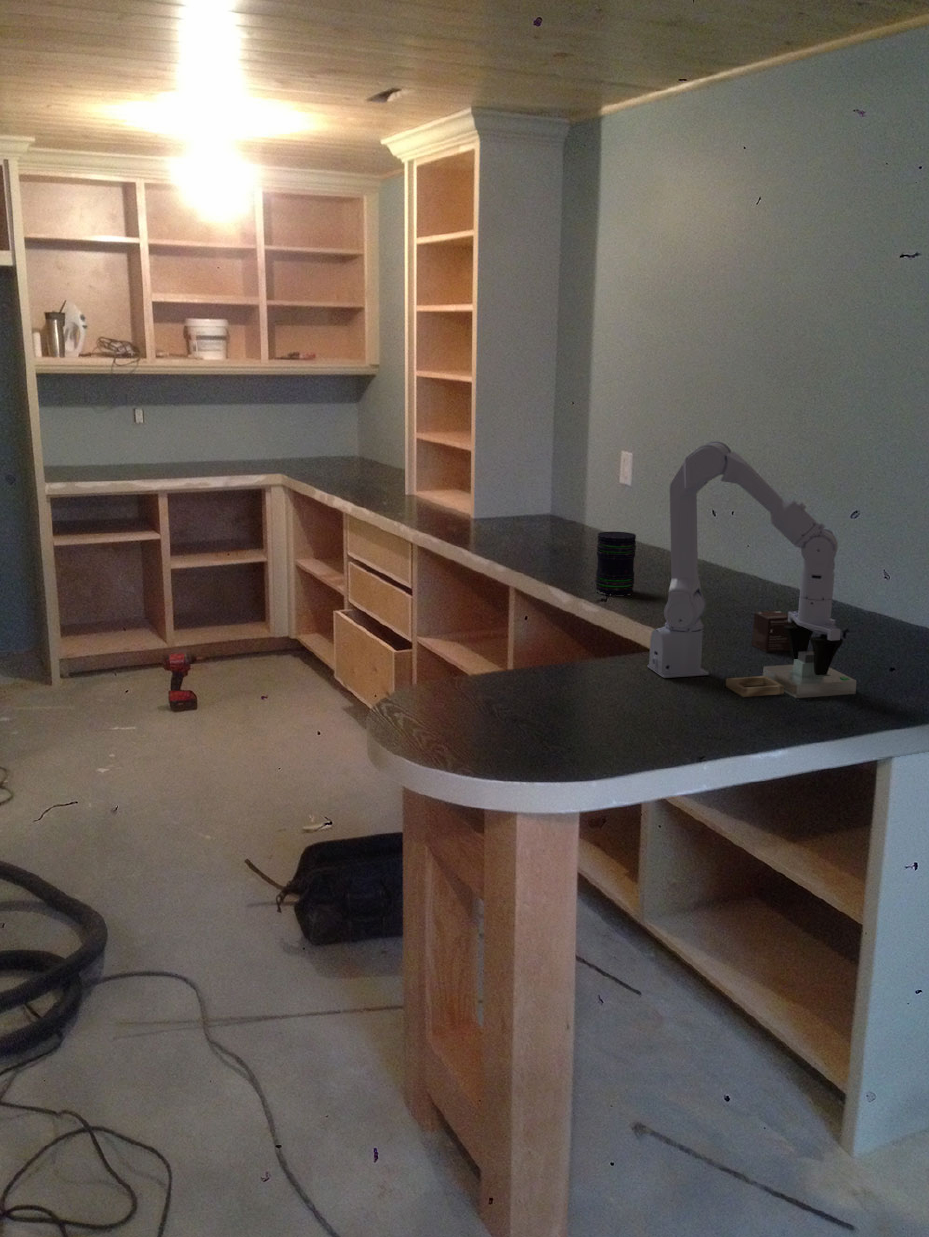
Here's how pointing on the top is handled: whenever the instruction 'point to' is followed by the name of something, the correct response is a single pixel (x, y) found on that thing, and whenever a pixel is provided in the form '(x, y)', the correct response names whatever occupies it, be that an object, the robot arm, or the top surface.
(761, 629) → the box
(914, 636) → the top surface
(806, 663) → the plug
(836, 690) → the port
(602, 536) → the storage jar
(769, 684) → the tan square frame
